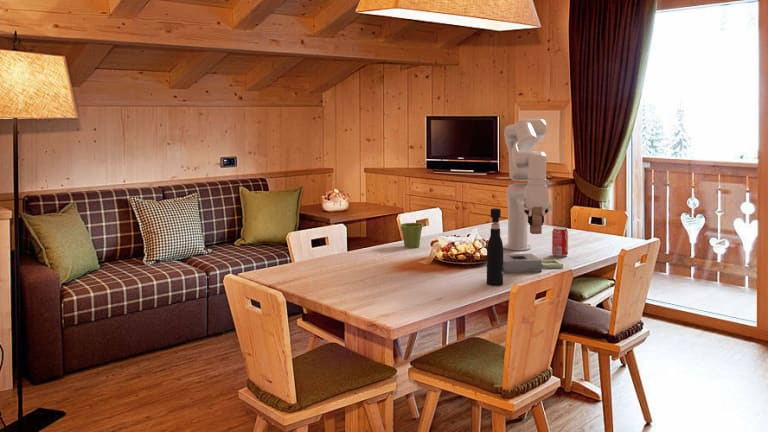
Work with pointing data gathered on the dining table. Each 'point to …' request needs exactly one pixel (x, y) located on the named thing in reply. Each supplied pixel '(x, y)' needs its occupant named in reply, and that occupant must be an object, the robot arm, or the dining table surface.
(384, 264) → the dining table surface
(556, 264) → the holder tray
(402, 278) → the dining table surface
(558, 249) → the soda can
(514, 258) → the block
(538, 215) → the walnut peg
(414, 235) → the plant pot
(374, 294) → the dining table surface
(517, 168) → the robot arm
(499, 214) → the wine bottle
